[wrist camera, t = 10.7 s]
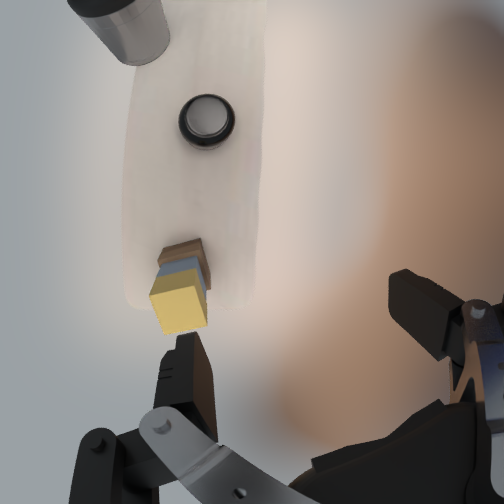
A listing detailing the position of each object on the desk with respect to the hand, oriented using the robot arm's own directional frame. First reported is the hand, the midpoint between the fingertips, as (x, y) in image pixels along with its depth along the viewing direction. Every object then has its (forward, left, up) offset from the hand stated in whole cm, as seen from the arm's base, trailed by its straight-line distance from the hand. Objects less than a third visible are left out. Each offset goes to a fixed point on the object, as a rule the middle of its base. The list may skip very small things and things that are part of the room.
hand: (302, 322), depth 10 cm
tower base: (+7, -9, -33) cm, 35 cm away
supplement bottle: (-12, -1, -33) cm, 35 cm away
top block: (+7, -9, -22) cm, 25 cm away
